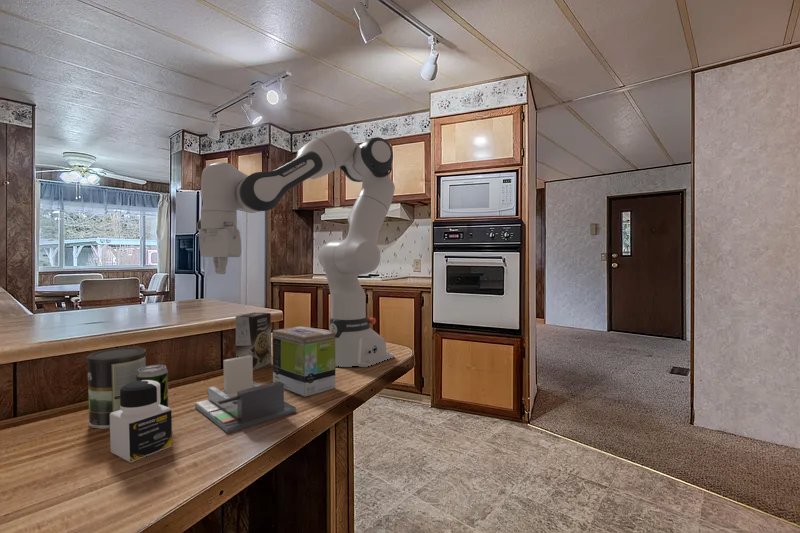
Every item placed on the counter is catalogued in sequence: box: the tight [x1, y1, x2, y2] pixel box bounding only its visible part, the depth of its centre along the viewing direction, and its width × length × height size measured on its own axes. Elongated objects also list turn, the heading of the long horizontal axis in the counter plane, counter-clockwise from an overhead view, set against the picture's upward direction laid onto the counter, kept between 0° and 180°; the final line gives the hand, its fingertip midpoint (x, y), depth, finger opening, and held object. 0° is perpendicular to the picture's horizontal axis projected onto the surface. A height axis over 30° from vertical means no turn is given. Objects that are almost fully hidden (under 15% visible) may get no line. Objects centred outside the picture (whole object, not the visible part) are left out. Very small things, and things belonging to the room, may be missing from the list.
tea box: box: [272, 325, 336, 397], centre depth 108 cm, size 15×10×15 cm
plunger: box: [218, 355, 254, 405], centre depth 90 cm, size 10×9×10 cm
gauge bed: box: [194, 381, 297, 434], centre depth 92 cm, size 15×18×7 cm
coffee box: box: [235, 312, 272, 371], centre depth 126 cm, size 9×6×16 cm
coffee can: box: [86, 346, 147, 430], centre depth 87 cm, size 10×10×14 cm
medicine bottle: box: [109, 380, 173, 463], centre depth 73 cm, size 7×7×12 cm
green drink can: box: [136, 364, 170, 408], centre depth 82 cm, size 5×5×12 cm
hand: (220, 273), depth 113 cm, fingers closed
